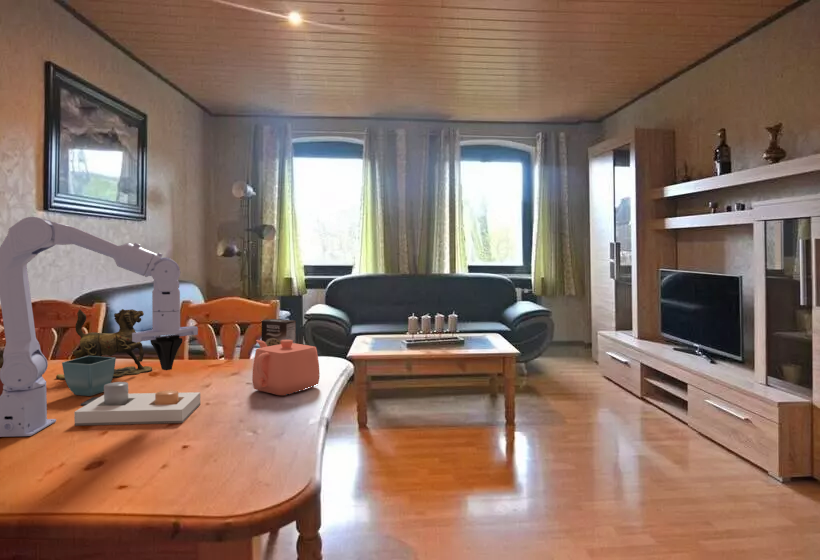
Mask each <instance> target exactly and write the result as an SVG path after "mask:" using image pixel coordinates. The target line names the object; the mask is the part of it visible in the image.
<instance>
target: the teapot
mask: <svg viewBox="0 0 820 560" xmlns="http://www.w3.org/2000/svg"><path fill="white" fill-rule="evenodd" d="M255 342H257V344H258V345H259V347H257V348H256V349H255V353H254V358H253V366H252V376H251V378H252V379H251V380H252V386H253V389H254V390H257V391H260V392H264V393H269V394H272V395H277V396H287V395H286V394H289V395H291V394H294V393H293V392H295V393H297V392H296V391H299V390H303V389H305V388H308V387H311V386H314V385H316V384H318V385H319V383H320V375H321V373H320V361H319V355H318V350H317V346H313V345H308V344H300V343H296V342H295V343H293V340H281V341H280V342H281V344H279V345H273V346H267V345H266V343H265V342H264V341H262V339H256V340H255ZM303 391H304V390H303ZM299 392H300V391H299ZM290 393H291V394H290Z"/></svg>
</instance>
